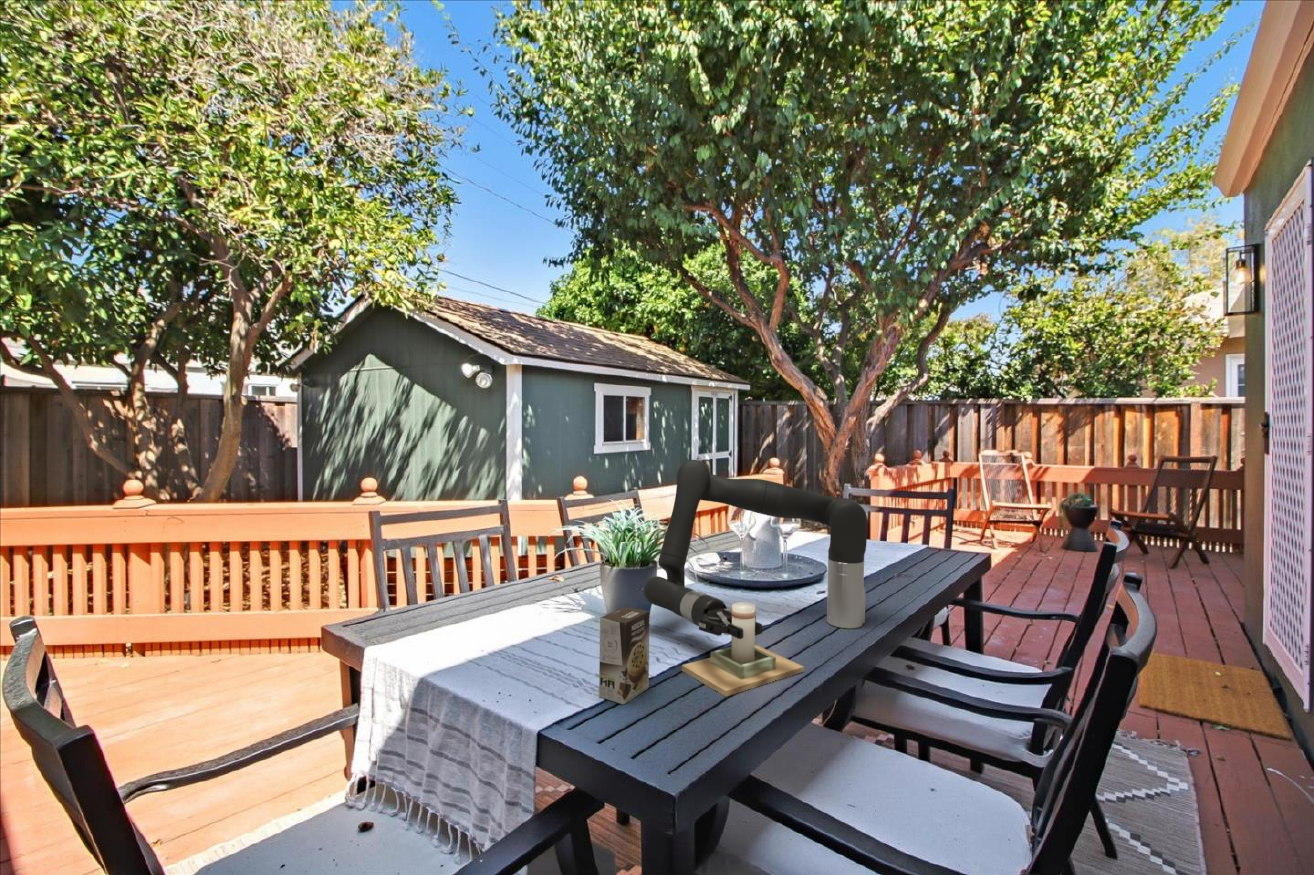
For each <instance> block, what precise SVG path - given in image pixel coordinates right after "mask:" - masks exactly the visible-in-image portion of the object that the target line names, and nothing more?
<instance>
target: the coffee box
mask: <svg viewBox="0 0 1314 875" xmlns="http://www.w3.org/2000/svg"><path fill="white" fill-rule="evenodd" d="M599 619H600V620H599V670H598V671H599V675H598V677H599V679H598V697H599V698H602V699H605V700H608V701H611V702H613V703H614V702H615V703H618V704H621V705H625V704H627V703H628V702H630V701H631V700H633V699H634V698H636V697H638V696H639V695H640V694H642V693H644V692H645V691H647V690H648V689H649V684H650V683H649V680H650V679H649V678H650V677H649V675H650V672H649V671H650V611H649V610H645V609H641V608H636V607H635V608H634V607H629V606H623V607H622V608H620V609H617V610H615V611H613V612H610V613H608V614H606V615H604V616H600V618H599Z"/></svg>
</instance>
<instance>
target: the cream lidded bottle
mask: <svg viewBox="0 0 1314 875" xmlns="http://www.w3.org/2000/svg"><path fill="white" fill-rule="evenodd" d="M731 605H732V606H731V610H732V624H733V625H735V626H738V627H740V628H742V629H743V638H742V639H738V638H736V637H734V636H732V635H731V646H730V647H731V660H733V661H734V662H736V663H738V664H746V663H750V662H753V661H754V654H755V642H756V638H755V637H756V633H755V617H756V618H757V614H756V613H757V611H756V605H755V604H754V603H751V602H745V601H739V602H734V603H732V604H731Z"/></svg>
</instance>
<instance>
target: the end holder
mask: <svg viewBox="0 0 1314 875" xmlns="http://www.w3.org/2000/svg"><path fill="white" fill-rule="evenodd" d="M681 671H682V672H684V673H685V674H687V676H689V677H692V678H693V679H695V678H696V679H695V680H697V681H698V680H699V682H700V683H702V684H704V686H707V687H708V688H710V689H712V690H714V691H715V690H716V692H717V691H718V693H719V694H720V695H722V696H723V697H725V696H726V697H729V696H733V695H737V694H740V693H743V692H746V691H748V689H749V690H752V689H754V688H758V686H759V687H760V686H761V685H762V686H764V684H765V685H767V684H766V683H768V682H771V683H773V682H772V681H774V682H776V681H775V680H777V681H779V680H778V679H780V678H784V679H786V678H785V677H787V678H789V677H788V676H790V677H792V676H791V675H793V676H795V675H794V674H796V675H798V674H797V673H799V672H801V671H804V672H805V666H803V665H801V664H799V663H797V662H794V661H793V660H791V659H788V658H786V657H784V656H781V655H779V654H777V653H775V652H773V651H771V650H768V649H766V648H764V647H762V646H760V645H759V644H758V645H755V654H754V661H753V662H750V663H746V664H738V663H736V662H734V661H733V660H731V646H728V647H725V648H722V649H717V650H714V651H710V657H708V658H704V659H700V660H697V661H692V662H689V663H685V664H682V665H681ZM768 684H769V683H768ZM745 690H746V691H745ZM742 691H743V692H742Z"/></svg>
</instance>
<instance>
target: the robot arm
mask: <svg viewBox="0 0 1314 875" xmlns="http://www.w3.org/2000/svg"><path fill="white" fill-rule="evenodd" d="M675 479H676V492H675V497H674V502H673V508H672V512H671V516H670V519H669V521H668V525H667V528H666V532H665V535H664V538H663V543H662V546H661V549H660V554H659V558H658V566H659V567H660V568H661V569H662V570H663V571H665V573H666V578H665V577H662V576H659V575H656V576H652V577H650V578H649V579H648V580H647V581H646V582H645V584H644V587H643V595H644V598H645V599H646V601H647V602H648V603H650V604H652V605H654V606H657V607H660V608H662V609H665V610H668V611H670V612H673V613H674V614H676V615H677V616H679V617H681V618H683V619H685V620H686V621H688V622H689V623H691V624H693V625H695V626H697V627H698V631H701V632H704V633H708V634H712V635H715V636H718V637H719V636H722V634H724V635H725V636H731V637H732V636H734V637H736V638H738V639H742V638H743V629H742V628H740V627H738V626H735V625H733V624H732V608H731V609H730V608H728V607H727V605H726V604H725V603H724V601H723V600H722V599H719V598H717V597H714V596H711V595H710V594H707V593H705V592H701V591H697V590H694V589H692V588H689V587H686V584H685V583H686V582H685V579H686V578H685V576H686V575H685V574H686V573H685V566H686V562H687V558H688V555H689V554H688V553H689V550H690V545H691V542H692V538H693V537H692V536H693V530H694V524H695V518H696V515H697V510H698V507H699V504H700V502H701V501H706V502H712V503H720V504H725V505H728V506H732V507H735V508H736V509H742V510H745V511H750V512H753V513H757V514H760V515H764V516H769V517H773V518H774V517H775V518H780V519H799V520H808V521H813V522H815V523H818V524H821V525H825V526H828V527H830V536H829V537H830V539H829V540H830V541H829V548H828V553H827V596H826V597H827V598H826V600H827V602H826V621H827V624H829V625H831V626H834V627H837V628H842V629H858V628H861V627H863V624H865V623H866V591H867V590H866V588H865V586H864V585H865V584H864V582H865V580H864V579H865V578H864V576H865V554H866V551H867V542H868V541H867V536H868V516H867V512H866V510H865V509H864V508H863V507H862V505H861V504H860V503H858V502H857V501H855V500H853V499H852V498H847V497H838V496H837V497H836V496H829V495H828V496H827V495H821V494H817V493H812V492H808V491H806V490H804V489H800V488H797V487H793V486H790V485H786V484H783V483H781V482H780V483H779V482H775V481H771V480H767V479H760V478H728V477H723V476H720V475H716V474H713V473H710V470H709V468H708V466H707V465H706V463H704V462H703V461H701V460H698V459H690V460H689V459H688V460H687V461H685V462H683V463H682V464H681V465H680V467H679V468H678V470H677V473H676V478H675ZM755 634H757V635H762V634H763V624H762V623H761V622H758V621H757V616H756V617H755Z"/></svg>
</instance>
